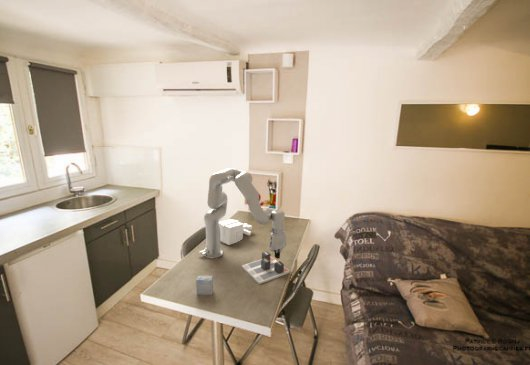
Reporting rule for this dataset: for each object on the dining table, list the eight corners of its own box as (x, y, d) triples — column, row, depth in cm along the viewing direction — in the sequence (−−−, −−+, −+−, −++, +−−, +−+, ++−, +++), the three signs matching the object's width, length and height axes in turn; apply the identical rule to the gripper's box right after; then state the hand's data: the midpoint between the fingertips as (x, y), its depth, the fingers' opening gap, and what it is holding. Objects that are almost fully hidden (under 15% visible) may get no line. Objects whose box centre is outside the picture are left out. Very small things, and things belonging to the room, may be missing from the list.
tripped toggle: (264, 270, 151) (264, 262, 149) (261, 267, 154) (261, 259, 153) (270, 268, 153) (270, 261, 152) (266, 265, 156) (266, 258, 155)
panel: (259, 284, 140) (259, 274, 138) (241, 267, 156) (242, 257, 154) (289, 272, 152) (290, 263, 150) (270, 257, 168) (271, 249, 166)
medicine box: (213, 289, 134) (213, 275, 132) (211, 295, 130) (211, 280, 128) (198, 289, 134) (197, 275, 132) (196, 295, 129) (195, 280, 127)
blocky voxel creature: (259, 239, 198) (232, 249, 177) (237, 229, 214) (211, 238, 193) (260, 221, 196) (234, 229, 175) (238, 213, 211) (212, 219, 190)
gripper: (271, 235, 145) (270, 263, 149) (291, 229, 153) (290, 257, 157) (264, 230, 151) (264, 258, 155) (283, 225, 159) (283, 252, 163)
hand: (277, 257), depth 156 cm, fingers closed
